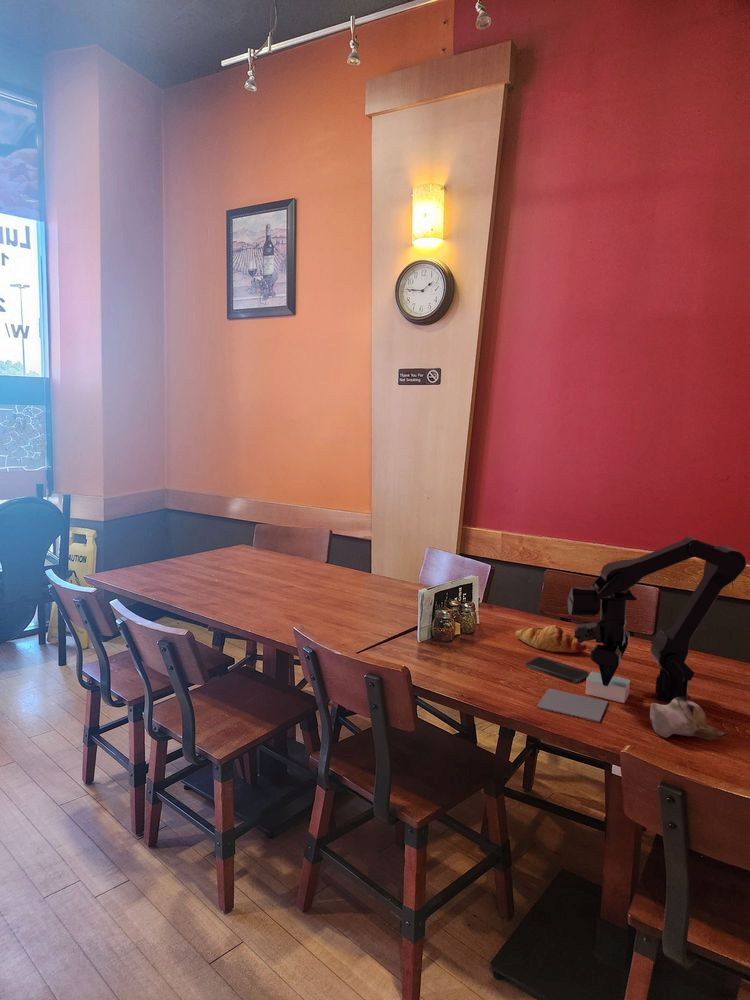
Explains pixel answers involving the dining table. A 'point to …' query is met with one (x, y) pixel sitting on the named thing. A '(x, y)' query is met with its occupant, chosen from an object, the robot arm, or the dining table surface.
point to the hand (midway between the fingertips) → (608, 678)
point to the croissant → (550, 639)
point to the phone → (557, 669)
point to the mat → (573, 705)
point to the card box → (608, 687)
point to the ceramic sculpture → (682, 720)
